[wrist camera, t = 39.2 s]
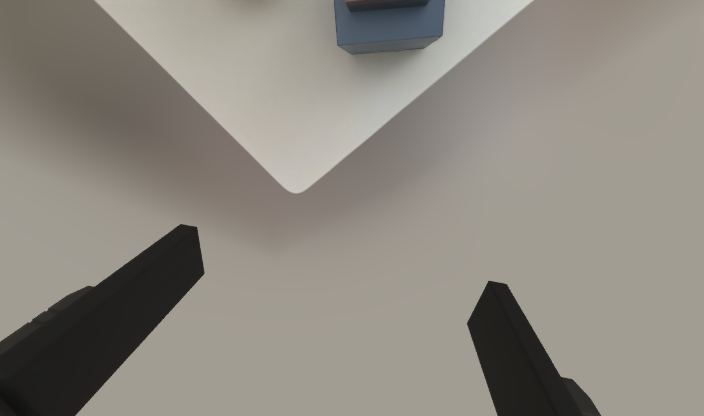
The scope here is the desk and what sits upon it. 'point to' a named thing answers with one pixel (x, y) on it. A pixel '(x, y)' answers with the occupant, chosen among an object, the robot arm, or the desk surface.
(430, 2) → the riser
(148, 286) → the robot arm
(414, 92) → the desk surface
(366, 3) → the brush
